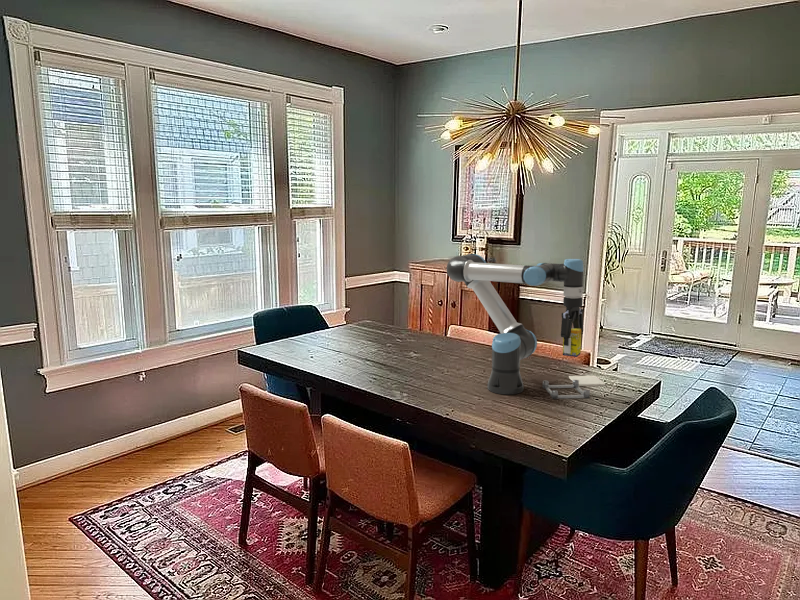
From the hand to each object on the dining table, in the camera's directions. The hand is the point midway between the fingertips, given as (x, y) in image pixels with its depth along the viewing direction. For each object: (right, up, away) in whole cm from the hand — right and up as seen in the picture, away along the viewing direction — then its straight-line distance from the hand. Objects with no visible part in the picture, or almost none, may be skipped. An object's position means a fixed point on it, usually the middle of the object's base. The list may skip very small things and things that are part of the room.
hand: (571, 351), depth 228 cm
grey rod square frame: (-2, -17, +1) cm, 18 cm away
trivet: (+11, -15, +15) cm, 24 cm away
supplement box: (0, -2, 0) cm, 2 cm away
